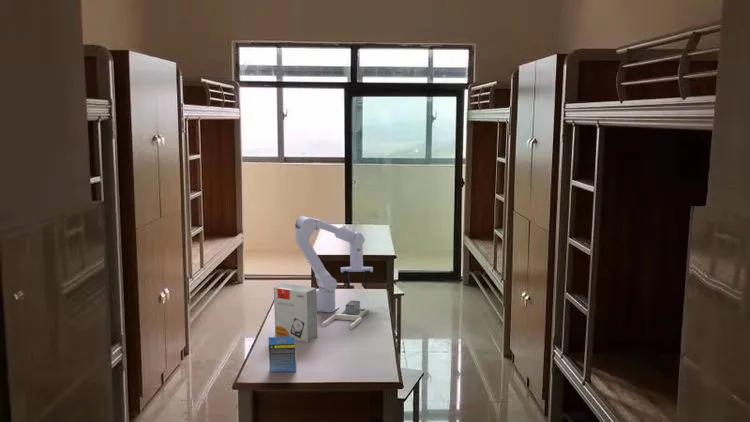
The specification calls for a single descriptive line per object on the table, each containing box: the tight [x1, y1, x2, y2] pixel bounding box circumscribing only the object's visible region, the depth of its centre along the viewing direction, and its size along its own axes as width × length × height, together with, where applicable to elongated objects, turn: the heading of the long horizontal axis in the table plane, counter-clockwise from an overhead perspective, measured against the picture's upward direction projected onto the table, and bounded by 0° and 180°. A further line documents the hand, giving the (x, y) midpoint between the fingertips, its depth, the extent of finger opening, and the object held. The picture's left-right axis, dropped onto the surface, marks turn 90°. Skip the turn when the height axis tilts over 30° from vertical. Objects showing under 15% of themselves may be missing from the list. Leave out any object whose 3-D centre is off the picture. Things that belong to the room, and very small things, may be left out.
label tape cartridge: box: [268, 336, 297, 373], centre depth 222 cm, size 9×4×12 cm, turn 92°
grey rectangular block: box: [345, 300, 361, 315], centre depth 285 cm, size 4×7×5 cm, turn 161°
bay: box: [321, 313, 363, 330], centre depth 274 cm, size 13×12×2 cm
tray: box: [338, 307, 370, 318], centre depth 286 cm, size 10×12×2 cm
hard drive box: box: [273, 283, 318, 343], centre depth 256 cm, size 16×8×20 cm, turn 62°
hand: (357, 287), depth 300 cm, fingers open, 7 cm apart
